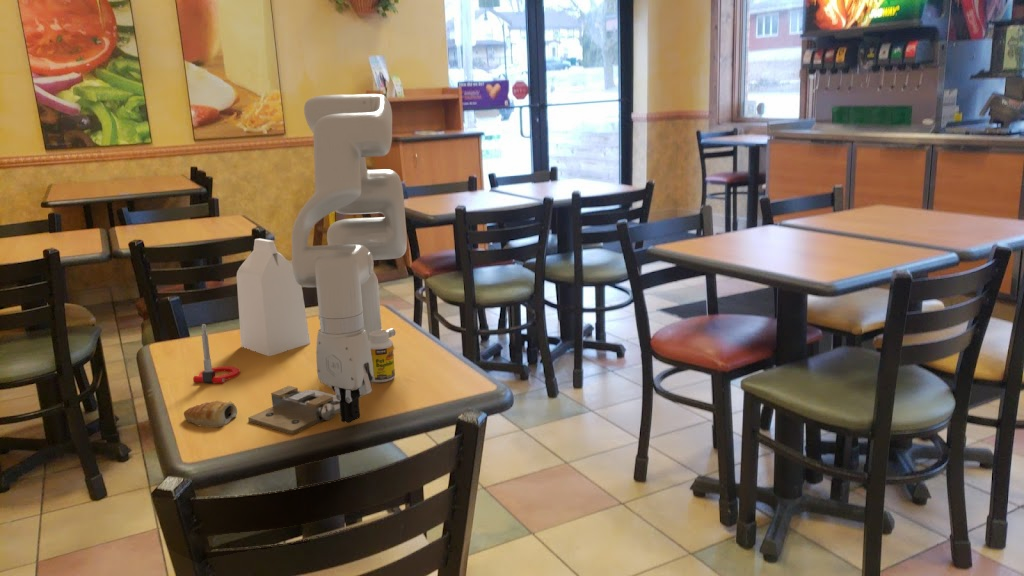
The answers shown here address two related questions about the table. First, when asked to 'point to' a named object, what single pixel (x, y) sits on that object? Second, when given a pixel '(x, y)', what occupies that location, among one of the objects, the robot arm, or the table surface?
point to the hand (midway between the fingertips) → (350, 419)
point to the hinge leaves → (294, 410)
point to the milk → (270, 302)
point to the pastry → (211, 413)
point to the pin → (322, 409)
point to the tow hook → (209, 372)
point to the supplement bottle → (382, 356)
